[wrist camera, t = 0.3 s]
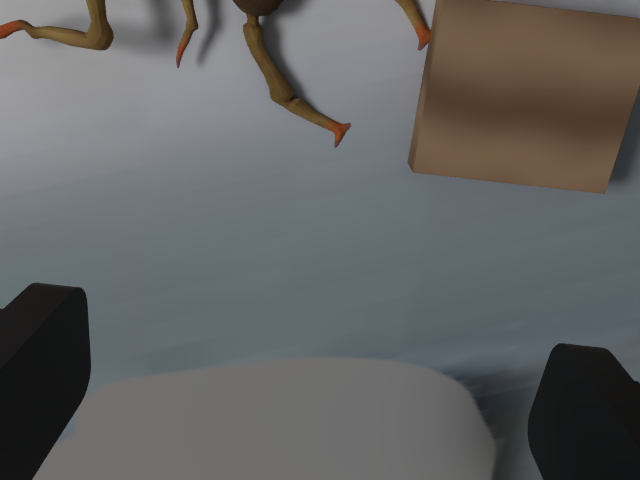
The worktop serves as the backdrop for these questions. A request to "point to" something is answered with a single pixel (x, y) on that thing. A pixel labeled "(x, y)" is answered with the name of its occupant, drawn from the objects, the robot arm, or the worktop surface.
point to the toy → (253, 3)
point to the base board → (525, 94)
